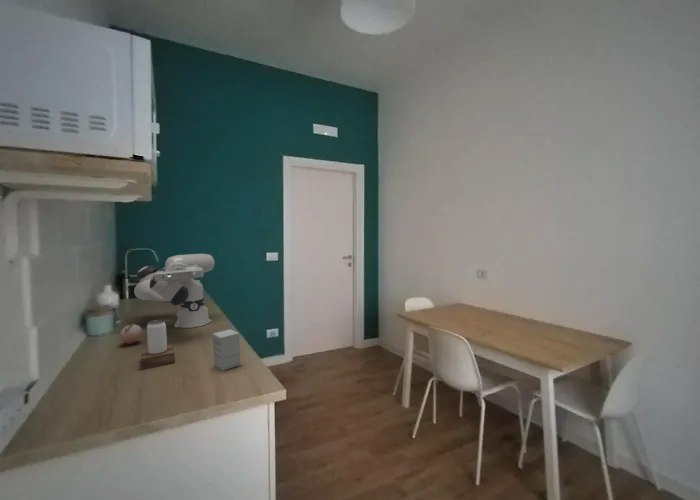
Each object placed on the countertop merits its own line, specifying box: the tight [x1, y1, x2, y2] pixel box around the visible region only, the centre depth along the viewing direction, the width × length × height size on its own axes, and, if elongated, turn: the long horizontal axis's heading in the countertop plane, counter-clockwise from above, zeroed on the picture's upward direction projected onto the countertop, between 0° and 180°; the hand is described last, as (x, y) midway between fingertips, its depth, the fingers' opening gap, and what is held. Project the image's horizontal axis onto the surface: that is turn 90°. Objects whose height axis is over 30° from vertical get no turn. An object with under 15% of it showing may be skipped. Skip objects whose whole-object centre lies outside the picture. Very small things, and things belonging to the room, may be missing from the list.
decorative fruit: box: [119, 322, 143, 345], centre depth 151 cm, size 9×8×10 cm
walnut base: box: [140, 344, 176, 370], centre depth 130 cm, size 11×11×4 cm
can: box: [146, 319, 168, 354], centre depth 130 cm, size 6×6×12 cm
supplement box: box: [212, 329, 241, 372], centre depth 125 cm, size 7×7×13 cm
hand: (181, 276), depth 146 cm, fingers open, 8 cm apart
